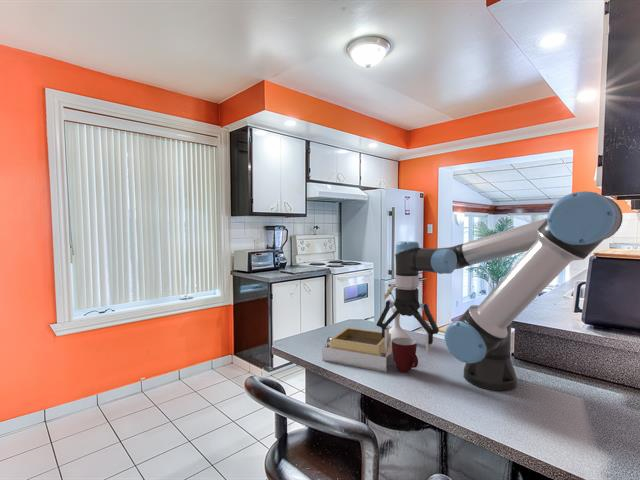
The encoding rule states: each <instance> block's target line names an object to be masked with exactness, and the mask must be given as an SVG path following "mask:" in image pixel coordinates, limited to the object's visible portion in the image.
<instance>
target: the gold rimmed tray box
mask: <svg viewBox="0 0 640 480" xmlns="http://www.w3.org/2000/svg"><path fill="white" fill-rule="evenodd" d="M321 359H322V361H324V362H329V363H335V364H340V365H346V366H351V367H355V368H362V369H365V370H370V371H372V370H373V371H377V372H383V373H387V372H388V371H389V369H390V368H391V367H392V365H393V364H394V358H393V352H392V340H391V333H389V347H388V348H387V349H386V348H385V338H382V331H375V330H368V329H359V328H353V327H345V329H343V330H342V331H340V332H339V333H337V334H336V335H334V336H333V337H330V336H328V337H327V338H326V344H324V345H322V346H321Z"/></svg>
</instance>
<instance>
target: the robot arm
mask: <svg viewBox="0 0 640 480" xmlns="http://www.w3.org/2000/svg"><path fill="white" fill-rule="evenodd" d="M622 224H623V211H622V209H621V207H620V205H619V204H618V203H617V202H615V200H613V199H611V198H610V197H608V196H605V195H602V194H601V193H597V192H593V191H583V190H582V191H577V192H571V193H569V194H567V195H564V196H562V197H561V198H560V199H558V200H556V201H555V203H554V204H553V205H552V206H551V207H550V209H549V211H548V214H547V217H545V218H542V219H539V220H536V221H533V222H529V223H526V224H523V225H520V226H516V227H513V228H510V229H509V228H508V229H505V230H502V231H499V232H497V233H494V234H490V235H486V236H484V237H479V238H477V239H473V240H469V241H467V242H464V243H461V244H456V245H453V246H449V247H439V248H438V247H435V248H427V247H426V248H425V247H424V248H423V247H420V246H419V245H420V244H419V242H418V241H410V240H409V241H408V240H407V241H404V240H403V241H397V242H396V244H395V253H394V256H395V279H394V280H395V284H394V287H396V288H395V289H394V291H395V297H394V299H395V302H394V300H392V299H387V300H386V301H385V306H384V308H383V311H382V312H381V315H380V316H379V319H378V320H377V323H376V326H377V327H379V328H381V332H382V338H385V348H386V349H387V348H388V347H389V329H390V327H388V326H389V325H390V324H391V323H392V322H393V321H394V318H395V317H396V316H397V315H398V314H399V313H400V316H408V317H412V316H413V317H414V318H415V319H416V320H417V322H418V323H419V324H420V325H421V327H422V328H423V330H424V331H425V332H426V334H425V355H426V356H428V355H429V354H430V349H431V348H430V346H431V345H433V342H434V335H437V334H438V333H439V331H440V330H439V329H440V328H439V326H438V325H437V323H436V321H435V319H434V316H433V315H432V313H431V311H430V305H429V303H428V302H425V303H420V302H419V296H420V295H419V294H420V293H419V289H418V287H419V283H420V281H419V280H420V279H419V272H425V273H435V274H440V275H443V274H448V275H449V274H450V275H451V274H452V273H454V272H455V270H460V269H461V270H462V269H463V268H465V267H469V266H474V265H477V264H481V263H484V262H490V261H494V260H496V259H501V258H505V257H510V256H513V255H517V254H521V253H524V254H523V256H522V257H520V259H519V260H518V261H517V262H516V263H515V264H514V266H513V267H512V268H511V269H510V270H509V271H508V272H507V273H506V275H504V277H503V278H502V279H501V280H500V281H499V282H498V283H497V285H496V286H494V288H493V289H492V290H491V291H490V293H489V294H488V295H487V296H486V297H485V298H484V299H483V300H482V302H480V304H479V305H477V304H475V305H474V304H472V305H470V306H469V307H468V308H467V309H466V310H465V312H464V313H463V314H462V315H461V316H460V318H459V319H458V320H456V321H452V322H451V323H450V324H449V325H448V326H447V327H446V328H445V332H444V341H445V342H444V343H445V346H446V348H447V350H448V351H449V354H451V355H452V356H453V357H454V358H455V359H456V360H458V361H460V362H461V363H465V365H464V366H463V367H464V368H463V378H464V380H465V381H467V382H468V383H469V384H471V385H473V386H476V387H479V388H481V389H485V390H491V391H497V392H498V391H499V392H500V391H501V392H503V391H504V392H505V391H511V390H514V389H516V388H517V385H518V377H517V374H516V371H515V368H514V365H513V363H512V358H511V357H512V353H511V352H512V324H513V321H514V320H515V319H516V318H517V317H518V316H519V315H520V314H521V313H522V312H523V311H524V310H525V309H526V308H527V307H528V306H529V305H530V304H531V303H532V302H533V301H534V300H535V299H536V298H537V297H538V296H539V295H540V294H541V293H542V292H543V291H544V290H545V289H546V288H547V287H548V286H549V285H550V284H551V283H552V282H553V281H554V280H555V279H556V278H557V276H559V275H560V273H562V272H563V271H564V270H565V269H566V267H568V266H569V265H570V264H571V262H573V261H583V260H585V259H586V258H587V257H588V256H589V255H590V254H591V253H592V252H593V251H594V250H595V249H596V248H597V247H598V246H599V245H600V244H601V243H602V242H603V241H605V240H607V239H609V238H611V237H612V236H614V235H615V234H616V233H617V232H618V231H619V229H620V228H621V227H622ZM393 305H394V306H393ZM392 306H393V307H394V308H396V309H397V310H396V311H395V312H394V314H393V313H392V315H391V316H390V317H389V318H388V319H387V320H386V321H385V322H384V320H385V318H386V316H387V314H388V313H389V310H391V308H390V307H392ZM393 307H392V308H393ZM420 308H421V310H422V311H424V315H425V316H426V319H427V321H428V323H429V324H430V325H429V324H428V323H427V321H426V319H424V317H423V316H422V314H421V313H420V311H419V309H420ZM383 322H384V323H383Z"/></svg>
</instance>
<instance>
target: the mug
mask: <svg viewBox="0 0 640 480" xmlns="http://www.w3.org/2000/svg"><path fill="white" fill-rule="evenodd" d="M392 352H393V358H394V362H393V364H394V366H395V367H396V370H398V372H400V373H403V374H404V373H405V374H406V373H410V371H411V370H412V369H415V368H417V367H418V365H419V358H418V356H417V354H416V353H417V341H416V340H414V339H412V338H410V339H409V338H395V339H393V340H392Z"/></svg>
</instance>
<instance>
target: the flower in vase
mask: <svg viewBox="0 0 640 480" xmlns="http://www.w3.org/2000/svg"><path fill="white" fill-rule="evenodd" d="M394 287H395V284H394V283H392V284H390V287H389V288H388V289H387V290H386V293H385V294H384V296H383V298H382V299H383V300H386V299H388V297H389V296H392V299H393V301H394V302H395V297H394V294H393V293H392V291H393V289H394ZM390 310H391V311H392V315H393V314H394V312H395V311H396V310H397V309H396V308H395V306H394V305H393V306H392V307H390ZM400 319H401V314H400V313H399V314H398V315H397V316H396V317H395V318H394V319H393V326H392V327H391V328H389V333H391V340H393V339H395V338H409V339H411V336H410V334H409V333H408V332H407V331H406V330H405V329H403V328H402V327H401V324H400Z"/></svg>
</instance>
